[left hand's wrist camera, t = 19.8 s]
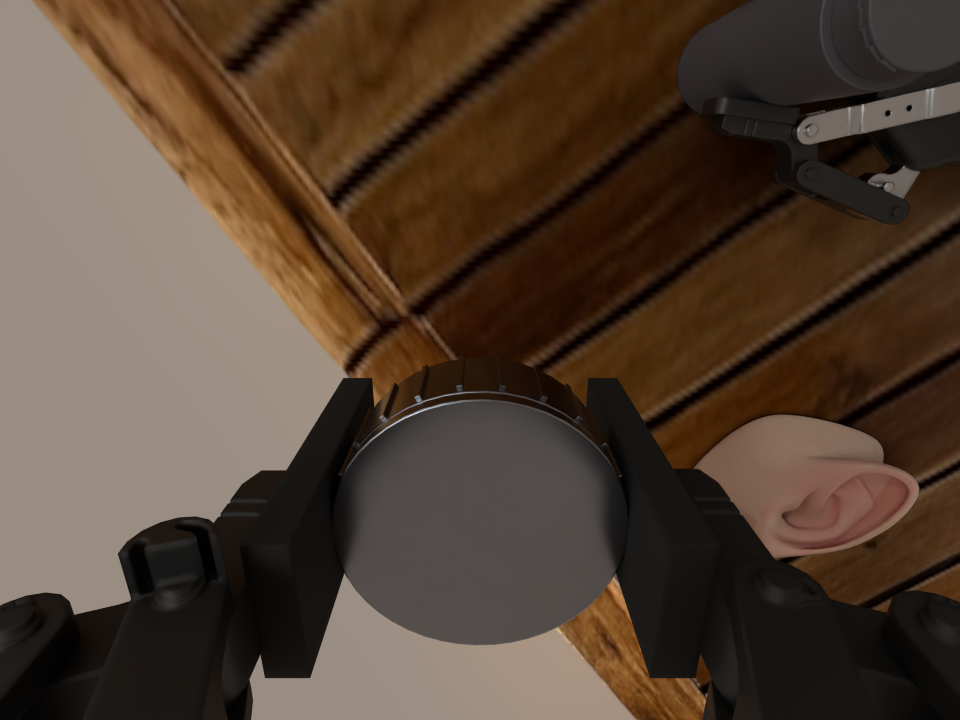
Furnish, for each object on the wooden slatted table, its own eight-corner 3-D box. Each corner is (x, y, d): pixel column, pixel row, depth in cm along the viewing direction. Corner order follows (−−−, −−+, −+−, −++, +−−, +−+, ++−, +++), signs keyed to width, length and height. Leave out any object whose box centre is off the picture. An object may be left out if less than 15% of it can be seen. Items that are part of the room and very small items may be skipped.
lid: (517, 608, 14) (523, 686, 12) (308, 508, 13) (275, 574, 11) (660, 436, 12) (697, 493, 10) (432, 302, 11) (421, 335, 9)
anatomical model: (682, 545, 37) (778, 408, 33) (664, 509, 41) (749, 382, 37) (840, 604, 39) (948, 480, 35) (809, 565, 43) (903, 449, 39)
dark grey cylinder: (711, 1, 29) (943, -153, 14) (782, 48, 30) (1070, -52, 15) (660, 90, 31) (823, 31, 16) (729, 132, 32) (944, 114, 17)
